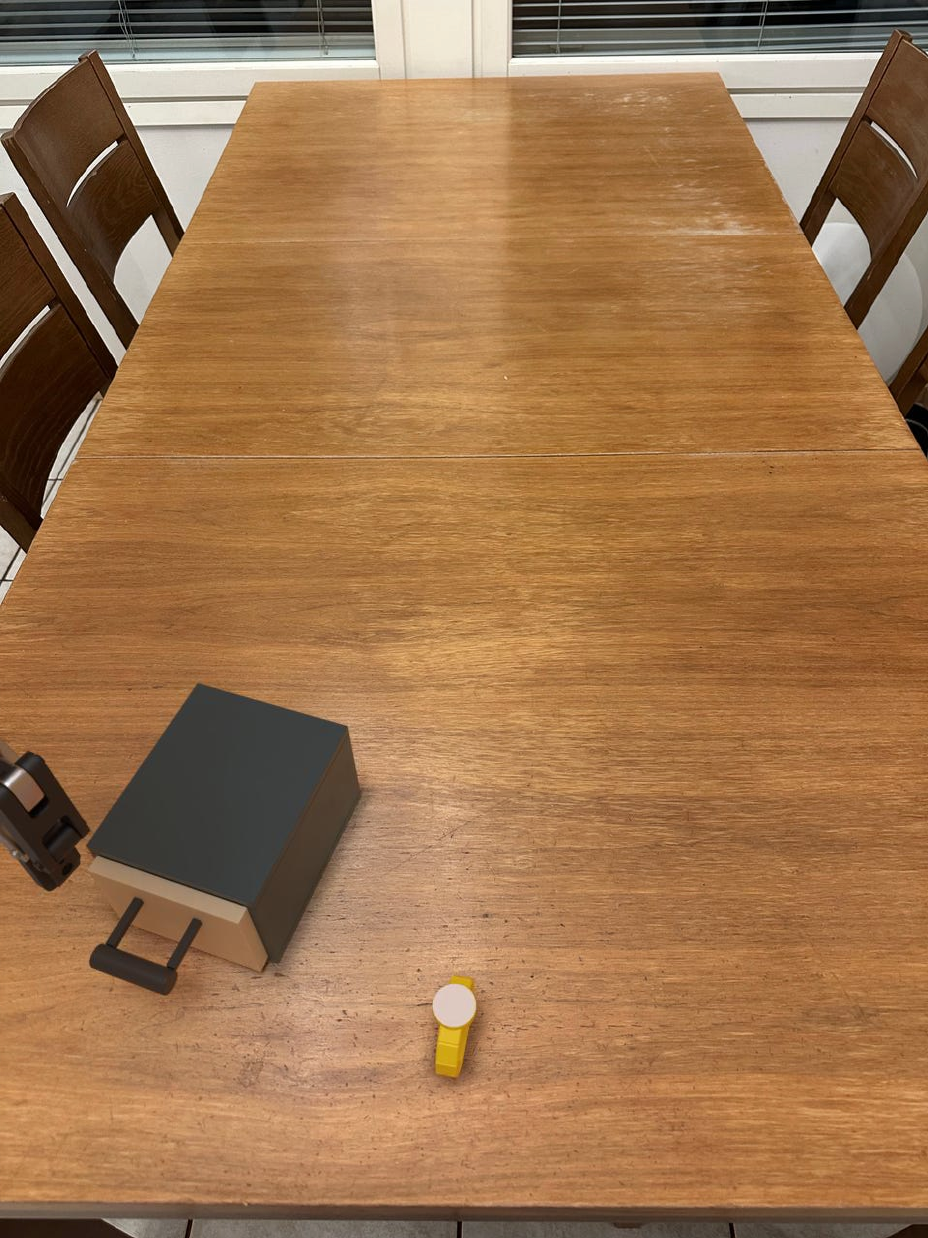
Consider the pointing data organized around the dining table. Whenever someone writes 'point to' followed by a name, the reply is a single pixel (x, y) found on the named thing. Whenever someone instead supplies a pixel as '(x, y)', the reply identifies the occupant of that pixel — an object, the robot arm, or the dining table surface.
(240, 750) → the cabinet
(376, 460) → the dining table surface
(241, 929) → the drawer
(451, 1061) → the watch
